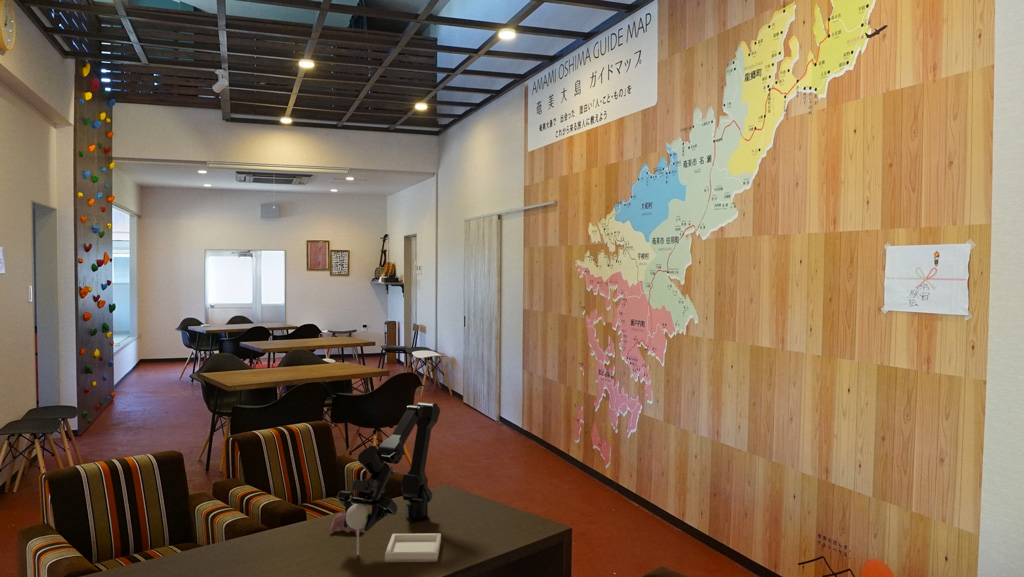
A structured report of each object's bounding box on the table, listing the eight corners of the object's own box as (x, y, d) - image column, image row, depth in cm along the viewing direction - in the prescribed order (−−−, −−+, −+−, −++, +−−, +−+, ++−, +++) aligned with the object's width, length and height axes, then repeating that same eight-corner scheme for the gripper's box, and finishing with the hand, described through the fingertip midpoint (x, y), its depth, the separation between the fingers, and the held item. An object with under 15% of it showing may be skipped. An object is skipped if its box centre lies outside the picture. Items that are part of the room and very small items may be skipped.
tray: (392, 541, 208) (392, 533, 208) (440, 541, 208) (440, 533, 208) (384, 562, 193) (384, 553, 193) (437, 561, 193) (437, 553, 193)
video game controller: (362, 536, 216) (365, 513, 219) (358, 534, 212) (361, 511, 215) (332, 535, 217) (336, 512, 220) (328, 533, 213) (331, 510, 216)
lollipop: (364, 560, 193) (364, 509, 193) (341, 558, 195) (341, 507, 195) (373, 551, 200) (374, 501, 200) (351, 549, 202) (351, 499, 202)
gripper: (340, 464, 205) (316, 511, 195) (392, 471, 197) (370, 521, 187) (355, 482, 212) (333, 529, 202) (406, 490, 205) (386, 539, 195)
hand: (355, 529), depth 196 cm, fingers closed on lollipop, 7 cm apart
